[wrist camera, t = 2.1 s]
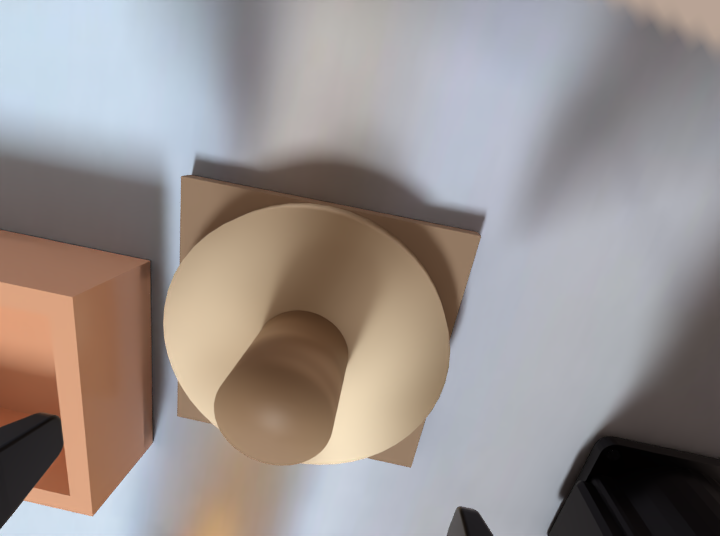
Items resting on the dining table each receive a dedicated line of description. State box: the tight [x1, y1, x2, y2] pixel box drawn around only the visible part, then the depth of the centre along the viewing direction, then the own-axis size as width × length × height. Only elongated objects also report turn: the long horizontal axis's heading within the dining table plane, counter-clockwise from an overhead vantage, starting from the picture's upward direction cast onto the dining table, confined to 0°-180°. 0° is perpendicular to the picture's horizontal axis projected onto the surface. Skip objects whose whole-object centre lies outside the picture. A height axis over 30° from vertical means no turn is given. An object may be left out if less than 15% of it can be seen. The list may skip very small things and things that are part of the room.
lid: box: [163, 203, 450, 465], centre depth 11 cm, size 10×10×4 cm
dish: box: [0, 230, 153, 516], centre depth 14 cm, size 9×9×4 cm
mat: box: [177, 175, 481, 467], centre depth 14 cm, size 10×10×1 cm
